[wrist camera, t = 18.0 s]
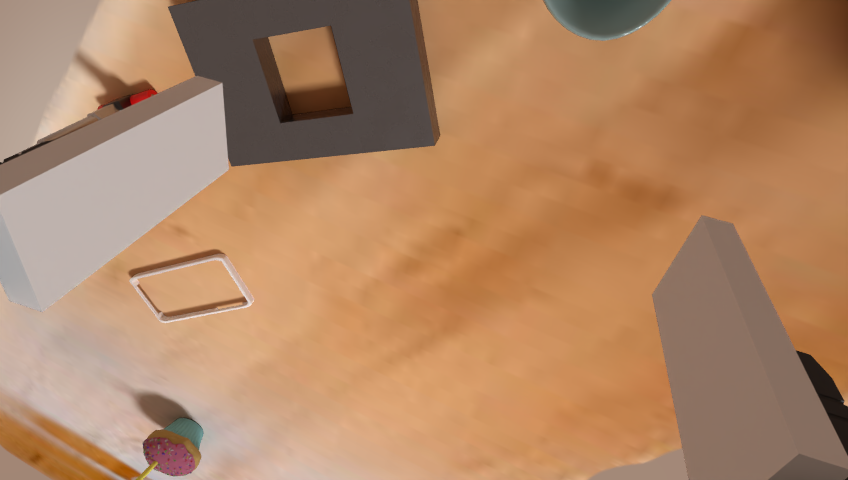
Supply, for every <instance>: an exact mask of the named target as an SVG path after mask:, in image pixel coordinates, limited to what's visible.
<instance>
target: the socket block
mask: <svg viewBox="0 0 848 480" xmlns="http://www.w3.org/2000/svg"><path fill="white" fill-rule="evenodd" d="M168 8H169V11H170V13H171V16H172V18H173V21H174V23H175V26H176V28H177V31H178V33H179V36H180V38H181V41H182V43H183V46H184V48H185V51H186V53H187V56H188V58H189V61H190V63H191V66H192V68H193V71H194V73H195V76H200V77H204V78H207V79H211V80H215V81H218V82H222V84H223V98H224V111H225V125H226V138H227V152H228V159H229V161H230V164H231V166H241V165H251V164H261V163H270V162H280V161H290V160H299V159H309V158H319V157H329V156H338V155H348V154H358V153H368V152H377V151H387V150H397V149H407V148H416V147H426V146H435V144H436V143H437V141H438V139H439V137H440V132H439V126H438V120H437V114H436V108H435V102H434V96H433V90H432V84H431V78H430V72H429V67H428V61H427V55H426V49H425V43H424V37H423V31H422V25H421V19H420V13H419V7H418V1H417V0H198V1H193V2H188V3H183V4H179V5H174V6H169V7H168ZM325 26H331V27H332V31H333V35H334V39H335V43H336V47H337V51H338V55H339V59H340V63H341V67H342V70H343V74H344V78H345V82H346V86H347V90H348V94H349V98H350V102H351V106H352V107H346V108H339V109H331V110H323V111H316V112H308V113H300V114H293V115H292V112H291V109H290V106H289V103H288V100H287V96H286V93H285V90H284V87H283V84H282V81H281V77H280V74H279V71H278V68H277V65H276V62H275V58H274V55H273V52H272V49H271V46H270V43H269V39H268V37H270V36H275V35H281V34H287V33H292V32H298V31H303V30H309V29H314V28H320V27H325Z"/></svg>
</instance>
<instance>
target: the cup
mask: <svg viewBox="0 0 848 480" xmlns="http://www.w3.org/2000/svg"><path fill="white" fill-rule="evenodd" d="M543 1H544V3H545V5H546V7H547V9H548V10H549V12H550V13H551V14H552V16H553V17H554V18H555V19H556V20H557V21H558V22H559V23H560V24H561V25H562V26H563V27H565V28H566V29H567V30H569V31H571V32H572V33H574V34H576V35H577V36H580V37H583V38H586V39H589V40H600V41H605V40H611V39H617V38H620V37H623V36H625V35H628V34H631V33H633V32H634V31H636V30H638V29H639V28H641V27H643V26H645V25H646V24H647V23H648V22H650V21H651V20H652V19H653V18H655V17H656V16H657V15H658V14H659V13H660V12H661V11H662V10H663V9H664V8H665V7H666V6H667V5H668V4H669V3H670V1H671V0H543Z"/></svg>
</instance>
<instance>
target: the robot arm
mask: <svg viewBox="0 0 848 480" xmlns="http://www.w3.org/2000/svg"><path fill="white" fill-rule="evenodd" d="M228 170H229V165H228V152H227V138H226V125H225V111H224V98H223V84H222V82H218V81H215V80H211V79H207V78H204V77H200V76H196V77H193V78H191V79H189V80H187V81H184V82H182V83H180V84H178V85H176V86H173V87H171V88H169V89H167V90H165V91H162V92H160V93H158V94H156V95H154V96H151V97H149V98H147V99H145V100H143V101H140V102H138V103H136V104H134V105H131V106H129V107H127V108H125V109H123V110H120V111H118V112H116V113H114V114H112V115H109V116H107V117H105V118H103V119H101V120H98V121H96V122H94V123H92V124H89V125H87V126H85V127H83V128H81V129H78V130H76V131H74V132H72V133H70V134H67V135H65V136H63V137H61V138H58V139H54V140H50V141H45V142H42V143H40V144H38V145H36V146H33V147H31V148H29V149H27V150H24V151H22V153H21V155H20V154H15V155H13V156H11V157H9V158H6V159H4V162H3V163H1V162H0V282H1V284H2V286H3V288H4V290H5V293H6V295H7V297H8V299H9V301H11V302H14V303H17V304H20V305H23V306H26V307H29V308H32V309H34V310H37V311H40V312H43V311H45V310H46V309H47V308H49V307H50V306H51V305H52V304H54V303H55V302H56V301H58V300H59V299H60V298H62V297H63V296H64V295H65V294H67V293H68V292H69V291H71V290H72V289H73V288H75V287H76V286H77V285H79V284H80V283H81V282H82V281H84V280H85V279H86V278H88V277H89V276H90V275H92V274H93V273H94V272H96V271H97V270H98V269H99V268H101V267H102V266H103V265H105V264H106V263H107V262H109V261H110V260H111V259H113V258H114V257H115V256H116V255H118V254H119V253H120V252H122V251H123V250H124V249H126V248H127V247H128V246H130V245H131V244H132V243H133V242H135V241H136V240H137V239H139V238H140V237H141V236H143V235H144V234H145V233H147V232H148V231H149V230H150V229H152V228H153V227H154V226H156V225H157V224H158V223H160V222H161V221H162V220H164V219H165V218H166V217H167V216H169V215H170V214H171V213H173V212H174V211H175V210H177V209H178V208H179V207H181V206H182V205H183V204H184V203H186V202H187V201H188V200H190V199H191V198H192V197H194V196H195V195H196V194H198V193H199V192H200V191H201V190H203V189H204V188H205V187H207V186H208V185H209V184H211V183H212V182H213V181H215V180H216V179H217V178H218V177H220V176H221V175H222V174H224V173H225V172H226V171H228ZM652 296H653V302H654V307H655V312H656V317H657V322H658V327H659V332H660V337H661V342H662V347H663V352H664V357H665V362H666V367H667V372H668V377H669V382H670V387H671V393H672V398H673V403H674V408H675V413H676V418H677V423H678V428H679V433H680V438H681V443H682V448H683V453H684V458H685V463H686V468H687V473H688V478H689V480H848V407H847V406H845V405H844V404H843V403H844V400H843V398H842V396H841V394H840V392H839V390H838V388H837V387H836V385H835V383H834V381H833V379H832V378H831V377H830V376H829V374H828V373H827V372H826V371H825V370H824V369H823V368H822V367H821V366H820V365H819V364H818V363H817V362H816V360H815V359H814V358H813V357H812V356H811V355H809V354H806V353H803V352H799V351H796V350H795V348H794V346H793V344H792V342H791V340H790V338H789V336H788V334H787V332H786V330H785V328H784V326H783V324H782V322H781V320H780V318H779V316H778V314H777V312H776V310H775V308H774V306H773V304H772V302H771V300H770V298H769V296H768V294H767V292H766V290H765V288H764V286H763V284H762V282H761V280H760V278H759V276H758V274H757V272H756V270H755V267H754V265H753V263H752V261H751V259H750V257H749V255H748V253H747V251H746V249H745V247H744V245H743V243H742V241H741V239H740V237H739V235H738V233H737V231H736V229H735V227H734V225H733V224H732V223H728V222H725V221H721V220H717V219H714V218H710V217H706V216H703V215H702V216H701V217H700V219H699V220H698V222H697V224H696V225H695V227H694V228H693V230H692V232H691V233H690V235H689V236H688V238H687V240H686V241H685V243H684V244H683V246H682V248H681V249H680V251H679V252H678V254H677V256H676V257H675V259H674V260H673V262H672V264H671V265H670V267H669V268H668V270H667V272H666V273H665V275H664V276H663V278H662V280H661V281H660V283H659V284H658V286H657V288H656V289H655V291H654V292H653V294H652Z"/></svg>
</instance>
